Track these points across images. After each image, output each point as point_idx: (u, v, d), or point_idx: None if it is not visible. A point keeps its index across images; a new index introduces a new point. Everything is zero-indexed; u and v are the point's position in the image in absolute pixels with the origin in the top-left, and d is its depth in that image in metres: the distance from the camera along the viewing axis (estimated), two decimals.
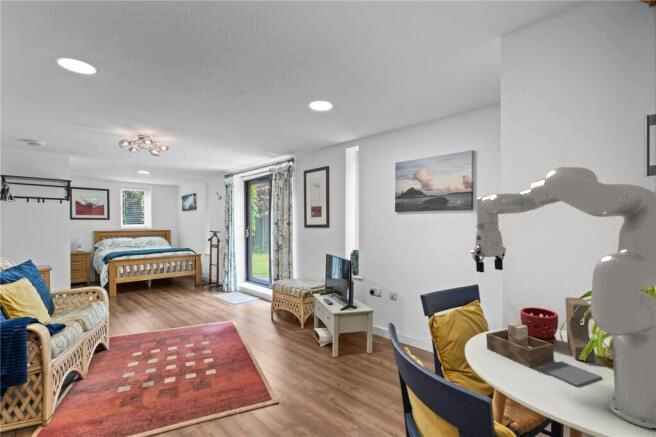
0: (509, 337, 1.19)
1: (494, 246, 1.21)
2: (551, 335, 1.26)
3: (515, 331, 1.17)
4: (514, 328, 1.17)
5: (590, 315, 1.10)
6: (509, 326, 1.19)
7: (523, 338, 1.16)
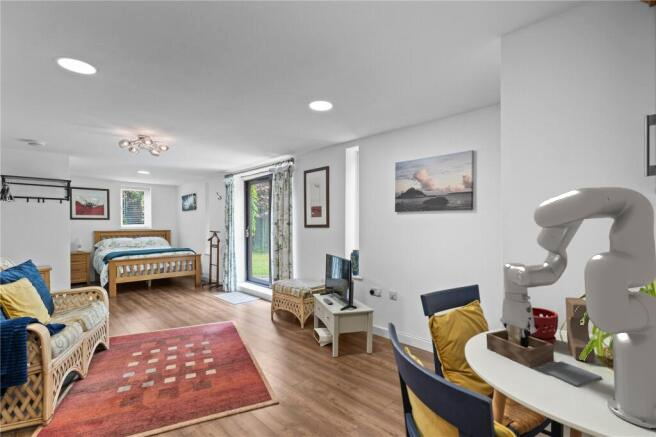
0: (509, 337, 1.19)
1: None
2: (551, 335, 1.26)
3: (515, 331, 1.17)
4: (514, 328, 1.17)
5: None
6: (509, 326, 1.19)
7: None
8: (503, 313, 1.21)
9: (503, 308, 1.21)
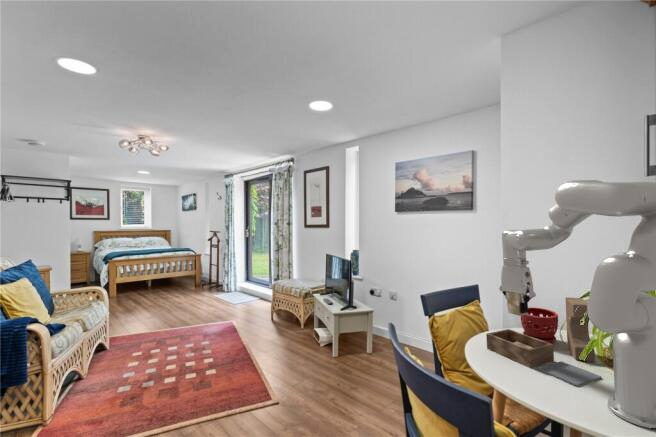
0: (508, 304, 1.19)
1: None
2: (551, 335, 1.26)
3: (514, 298, 1.17)
4: (513, 294, 1.17)
5: None
6: (508, 293, 1.19)
7: None
8: (502, 280, 1.21)
9: (502, 275, 1.21)
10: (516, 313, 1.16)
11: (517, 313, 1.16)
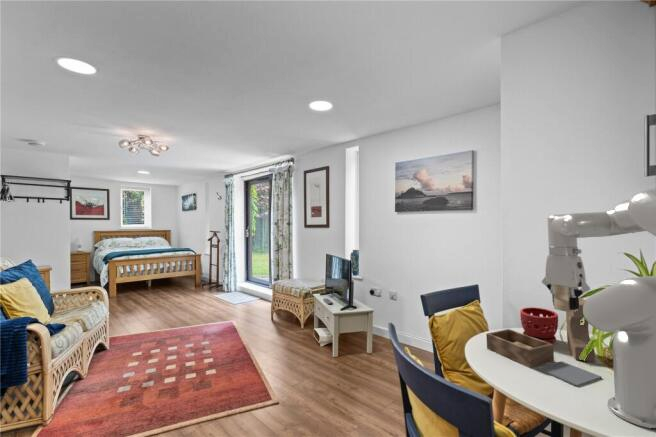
0: (555, 299, 1.04)
1: None
2: (551, 335, 1.26)
3: (562, 292, 1.01)
4: (561, 288, 1.02)
5: None
6: (555, 286, 1.04)
7: None
8: (547, 272, 1.06)
9: (547, 267, 1.06)
10: (565, 309, 1.01)
11: (566, 309, 1.01)
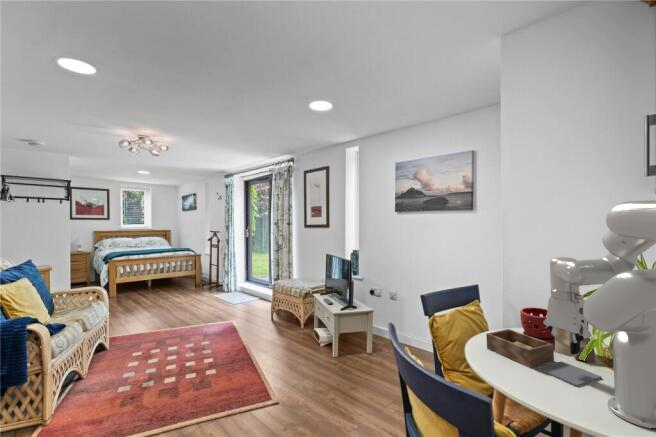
0: (556, 342, 1.04)
1: None
2: (551, 335, 1.26)
3: (564, 336, 1.02)
4: (563, 332, 1.02)
5: None
6: (556, 329, 1.04)
7: None
8: (548, 314, 1.06)
9: (548, 309, 1.06)
10: (566, 353, 1.01)
11: (567, 354, 1.01)
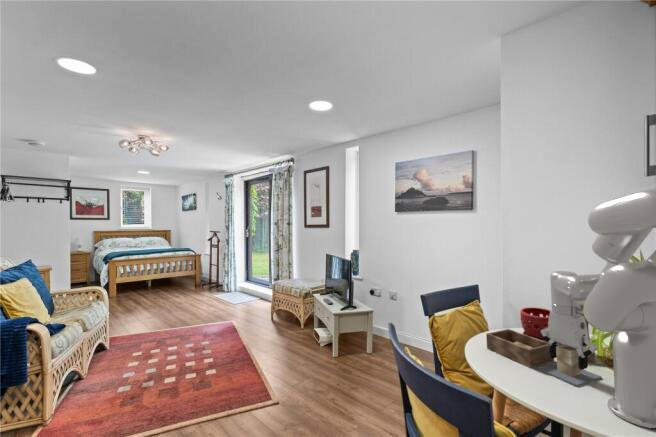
0: (558, 361, 1.03)
1: None
2: None
3: (565, 355, 1.01)
4: (565, 351, 1.01)
5: None
6: (558, 348, 1.03)
7: (576, 363, 1.01)
8: (549, 328, 1.06)
9: (549, 323, 1.06)
10: (568, 373, 1.01)
11: (569, 374, 1.00)
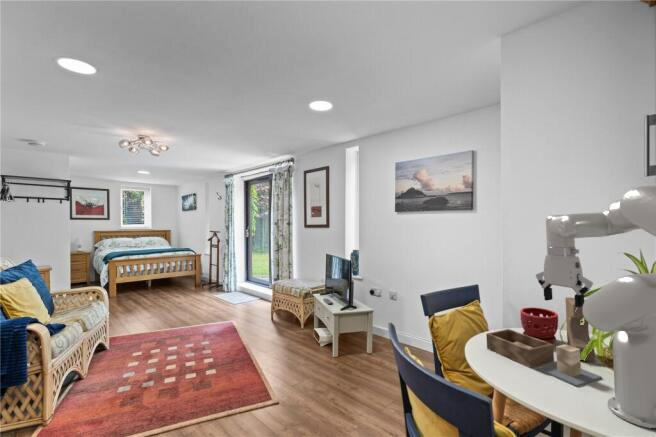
0: (558, 361, 1.03)
1: None
2: (551, 335, 1.26)
3: (565, 355, 1.01)
4: (565, 351, 1.01)
5: None
6: (558, 348, 1.03)
7: (576, 363, 1.01)
8: (545, 272, 1.07)
9: (545, 266, 1.07)
10: (568, 373, 1.01)
11: (569, 374, 1.00)
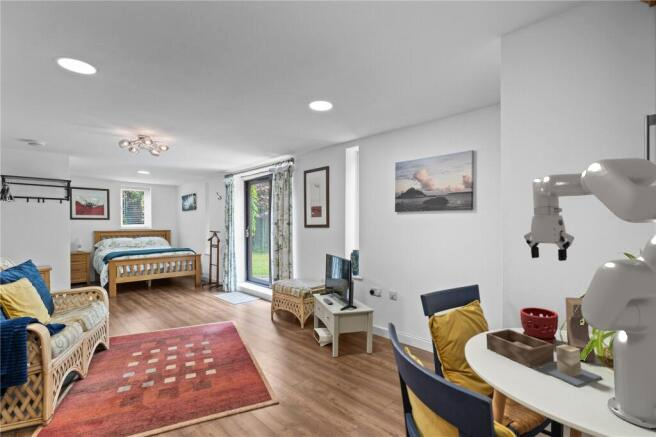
0: (558, 361, 1.03)
1: None
2: (551, 335, 1.26)
3: (565, 355, 1.01)
4: (565, 351, 1.01)
5: None
6: (558, 348, 1.03)
7: (576, 363, 1.01)
8: (532, 232, 1.17)
9: (532, 226, 1.17)
10: (568, 373, 1.01)
11: (569, 374, 1.00)
